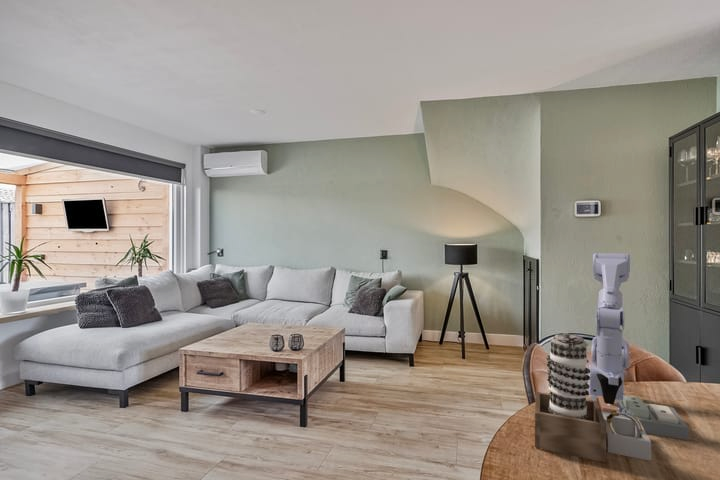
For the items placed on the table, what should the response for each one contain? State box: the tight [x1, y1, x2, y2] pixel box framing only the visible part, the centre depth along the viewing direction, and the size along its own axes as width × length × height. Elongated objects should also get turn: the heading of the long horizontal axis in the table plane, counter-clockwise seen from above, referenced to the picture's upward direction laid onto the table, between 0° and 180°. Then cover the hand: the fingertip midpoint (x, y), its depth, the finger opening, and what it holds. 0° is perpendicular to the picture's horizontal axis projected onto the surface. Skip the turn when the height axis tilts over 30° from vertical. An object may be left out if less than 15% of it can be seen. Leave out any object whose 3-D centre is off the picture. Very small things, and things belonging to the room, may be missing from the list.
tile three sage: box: [623, 394, 649, 419], centre depth 104 cm, size 4×9×3 cm, turn 155°
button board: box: [590, 395, 690, 441], centre depth 104 cm, size 19×13×3 cm, turn 65°
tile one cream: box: [649, 403, 679, 424], centre depth 102 cm, size 4×9×3 cm, turn 155°
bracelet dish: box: [603, 414, 652, 462], centre depth 93 cm, size 8×12×4 cm, turn 155°
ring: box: [607, 408, 642, 438], centre depth 93 cm, size 7×3×8 cm, turn 31°
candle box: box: [534, 391, 607, 463], centre depth 94 cm, size 14×14×8 cm
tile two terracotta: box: [598, 396, 620, 413], centre depth 107 cm, size 4×9×3 cm, turn 155°
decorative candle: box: [546, 332, 590, 420], centre depth 94 cm, size 9×9×25 cm
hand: (608, 402), depth 107 cm, fingers closed, pressing on tile two terracotta
